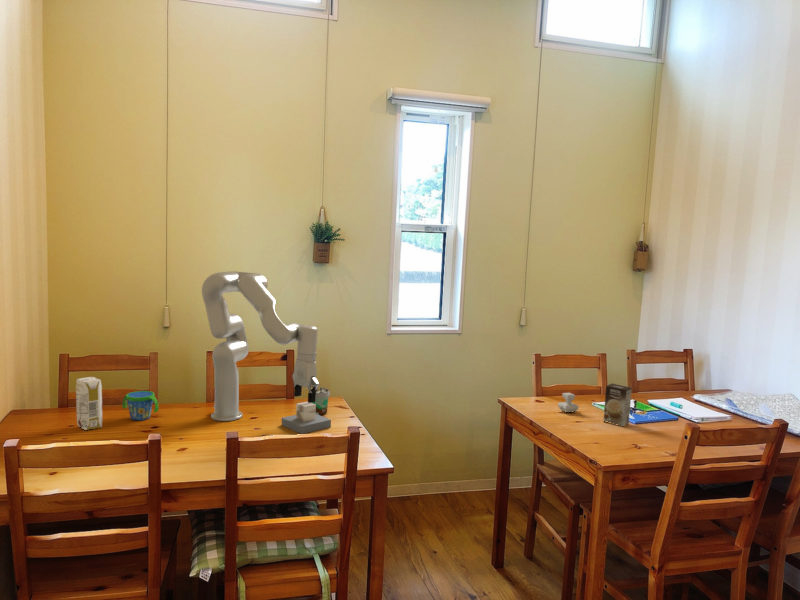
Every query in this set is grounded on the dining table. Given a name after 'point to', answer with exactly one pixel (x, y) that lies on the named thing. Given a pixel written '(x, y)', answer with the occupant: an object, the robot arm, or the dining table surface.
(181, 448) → the dining table surface
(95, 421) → the juice carton
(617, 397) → the coffee box
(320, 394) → the food container
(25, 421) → the dining table surface
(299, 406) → the block
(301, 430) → the stand
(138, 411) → the snack cup
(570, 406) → the stamp
